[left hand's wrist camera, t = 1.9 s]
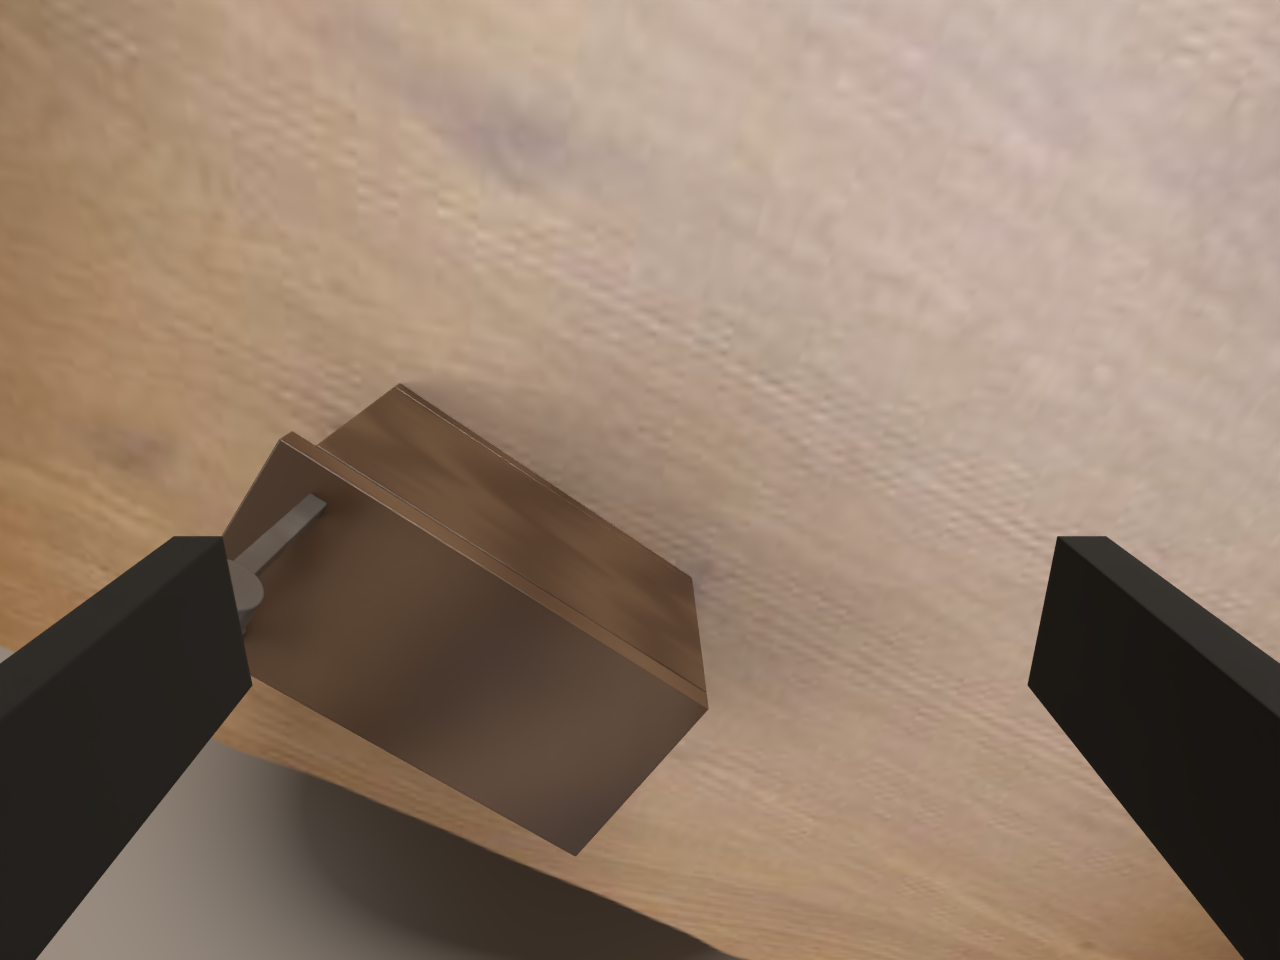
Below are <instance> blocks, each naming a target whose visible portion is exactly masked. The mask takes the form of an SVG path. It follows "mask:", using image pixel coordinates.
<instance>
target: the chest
mask: <svg viewBox="0 0 1280 960" xmlns="http://www.w3.org/2000/svg"><path fill="white" fill-rule="evenodd" d="M316 447H318V448H320V449H321V450H323V451H324V452H326V453H327V454H329V455H331V456H332V457H334V458H335V459H337V460H339V461H340V462H342V463H343V464H345V465H346V466H348V467H350V468H351V469H353V470H354V471H356V472H357V473H359V474H361V475H362V476H364V477H365V478H367V479H369V480H370V481H372V482H373V483H375V484H376V485H378V486H380V487H381V488H383V489H384V490H386V491H388V492H389V493H391V494H392V495H394V496H395V497H397V498H399V499H400V500H402V501H403V502H405V503H406V504H408V505H410V506H411V507H413V508H414V509H416V510H418V511H419V512H421V513H422V514H424V515H425V516H427V517H429V518H430V519H432V520H433V521H435V522H436V523H438V524H440V525H441V526H443V527H444V528H446V529H448V530H449V531H451V532H452V533H454V534H455V535H457V536H459V537H460V538H462V539H463V540H465V541H467V542H468V543H470V544H471V545H473V546H474V547H476V548H478V549H479V550H481V551H482V552H484V553H485V554H487V555H489V556H490V557H492V558H493V559H495V560H497V561H498V562H500V563H501V564H503V565H504V566H506V567H508V568H509V569H511V570H512V571H514V572H515V573H517V574H519V575H520V576H522V577H523V578H525V579H527V580H528V581H530V582H531V583H533V584H534V585H536V586H538V587H539V588H541V589H542V590H544V591H546V592H547V593H549V594H550V595H552V596H553V597H555V598H557V599H558V600H560V601H561V602H563V603H564V604H566V605H568V606H569V607H571V608H572V609H574V610H576V611H577V612H579V613H580V614H582V615H583V616H585V617H587V618H588V619H590V620H591V621H593V622H595V623H596V624H598V625H599V626H601V627H602V628H604V629H606V630H607V631H609V632H610V633H612V634H613V635H615V636H617V637H618V638H620V639H621V640H623V641H625V642H626V643H628V644H629V645H631V646H632V647H634V648H636V649H637V650H639V651H640V652H642V653H643V654H645V655H647V656H648V657H650V658H651V659H653V660H655V661H656V662H658V663H659V664H661V665H662V666H664V667H666V668H667V669H669V670H670V671H672V672H674V673H675V674H677V675H678V676H680V677H681V678H683V679H685V680H686V681H688V682H689V683H691V684H692V685H694V686H696V687H697V688H699V689H700V690H702V691H704V692H705V693H706V684H705V676H704V669H703V661H702V653H701V645H700V638H699V630H698V622H697V614H696V607H695V599H694V591H693V585H692V578H691V577H690V576H688V575H687V574H685V573H684V572H682V571H681V570H679V569H678V568H676V567H675V566H673V565H672V564H670V563H669V562H667V561H666V560H664V559H663V558H661V557H660V556H658V555H657V554H655V553H654V552H652V551H651V550H649V549H648V548H646V547H645V546H643V545H642V544H640V543H639V542H637V541H636V540H634V539H633V538H631V537H630V536H628V535H627V534H625V533H624V532H622V531H621V530H619V529H618V528H616V527H615V526H613V525H612V524H610V523H609V522H607V521H606V520H604V519H603V518H601V517H600V516H598V515H597V514H595V513H594V512H592V511H591V510H589V509H588V508H586V507H585V506H583V505H582V504H580V503H579V502H577V501H576V500H574V499H573V498H571V497H570V496H568V495H567V494H565V493H564V492H562V491H561V490H559V489H558V488H556V487H555V486H553V485H552V484H550V483H549V482H547V481H546V480H544V479H543V478H541V477H540V476H538V475H537V474H535V473H534V472H532V471H531V470H529V469H528V468H526V467H525V466H523V465H522V464H520V463H519V462H517V461H516V460H514V459H513V458H511V457H510V456H508V455H507V454H505V453H504V452H502V451H501V450H499V449H498V448H496V447H495V446H493V445H492V444H490V443H489V442H487V441H486V440H484V439H483V438H481V437H480V436H478V435H477V434H475V433H474V432H472V431H471V430H469V429H468V428H466V427H465V426H463V425H462V424H460V423H459V422H457V421H456V420H454V419H453V418H451V417H450V416H448V415H447V414H445V413H444V412H442V411H441V410H439V409H438V408H436V407H435V406H433V405H432V404H430V403H429V402H427V401H426V400H424V399H423V398H421V397H420V396H418V395H417V394H415V393H413V392H412V391H410V390H409V389H407V388H406V387H404V386H403V385H401V384H398V385H396V386H395V387H394V388H392V389H391V390H390V391H388V392H387V393H386V394H384V395H383V396H382V397H380V398H379V399H378V400H376V401H375V402H374V403H372V404H371V405H370V406H368V407H367V408H366V409H364V410H363V411H362V412H360V413H359V414H358V415H356V416H355V417H354V418H352V419H351V420H350V421H348V422H347V423H346V424H344V425H343V426H342V427H340V428H339V429H338V430H336V431H335V432H334V433H332V434H331V435H330V436H328V437H327V438H326V439H324V440H323V441H322V442H320V443H319V444H318V445H317V446H316Z"/></svg>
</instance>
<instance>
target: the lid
mask: <svg viewBox="0 0 1280 960" xmlns="http://www.w3.org/2000/svg"><path fill="white" fill-rule="evenodd" d="M222 536H223V541H224V546H225V551H226V556H227V561H228V566H229V571H230V576H231V581H232V586H233V591H234V596H235V601H236V606H237V611H238V616H239V621H240V626H241V631H242V636H243V641H244V646H245V651H246V656H247V661H248V666H249V671H250V675H251V676H253V677H255V678H257V679H258V680H260V681H262V682H264V683H265V684H267V685H269V686H271V687H273V688H274V689H276V690H278V691H280V692H282V693H283V694H285V695H287V696H289V697H291V698H292V699H294V700H296V701H298V702H300V703H301V704H303V705H305V706H307V707H308V708H310V709H312V710H314V711H316V712H317V713H319V714H321V715H323V716H325V717H326V718H328V719H330V720H332V721H334V722H335V723H337V724H339V725H341V726H343V727H344V728H346V729H348V730H350V731H351V732H353V733H355V734H357V735H359V736H360V737H362V738H364V739H366V740H368V741H369V742H371V743H373V744H375V745H377V746H378V747H380V748H382V749H384V750H385V751H387V752H389V753H391V754H393V755H394V756H396V757H398V758H400V759H402V760H403V761H405V762H407V763H409V764H411V765H412V766H414V767H416V768H418V769H420V770H421V771H423V772H425V773H427V774H428V775H430V776H432V777H434V778H436V779H437V780H439V781H441V782H443V783H445V784H446V785H448V786H450V787H452V788H454V789H455V790H457V791H459V792H461V793H463V794H464V795H466V796H468V797H470V798H471V799H473V800H475V801H477V802H479V803H480V804H482V805H484V806H486V807H488V808H489V809H491V810H493V811H495V812H497V813H498V814H500V815H502V816H504V817H506V818H507V819H509V820H511V821H513V822H514V823H516V824H518V825H520V826H522V827H523V828H525V829H527V830H529V831H531V832H532V833H534V834H536V835H538V836H540V837H541V838H543V839H545V840H547V841H548V842H550V843H552V844H554V845H556V846H557V847H559V848H561V849H563V850H565V851H566V852H568V853H570V854H572V855H574V856H577V854H578V853H579V852H580V851H581V850H582V849H583V848H584V847H585V846H586V844H587V843H588V842H589V841H590V840H591V839H592V838H593V837H594V836H595V834H596V833H597V832H598V831H599V830H600V829H601V828H602V827H603V826H604V824H605V823H606V822H607V821H608V820H609V819H610V818H611V817H612V816H613V814H614V813H615V812H616V811H617V810H618V809H619V808H620V807H621V806H622V804H623V803H624V802H625V801H626V800H627V799H628V798H629V797H630V796H631V794H632V793H633V792H634V791H635V790H636V789H637V788H638V787H639V786H640V784H641V783H642V782H643V781H644V780H645V779H646V778H647V777H648V776H649V774H650V773H651V772H652V771H653V770H654V769H655V768H656V767H657V766H658V764H659V763H660V762H661V761H662V760H663V759H664V758H665V757H666V756H667V755H668V753H669V752H670V751H671V750H672V749H673V748H674V747H675V746H676V745H677V743H678V742H679V741H680V740H681V739H682V738H683V737H684V736H685V735H686V733H687V732H688V731H689V730H690V729H691V728H692V727H693V726H694V725H695V723H696V722H697V721H698V720H699V719H700V718H701V717H702V716H703V715H704V713H705V712H706V711H707V710H708V700H707V694H706V693H705V692H704V691H702V690H700V689H699V688H697V687H696V686H694V685H692V684H691V683H689V682H688V681H686V680H685V679H683V678H681V677H680V676H678V675H677V674H675V673H674V672H672V671H670V670H669V669H667V668H666V667H664V666H662V665H661V664H659V663H658V662H656V661H655V660H653V659H651V658H650V657H648V656H647V655H645V654H643V653H642V652H640V651H639V650H637V649H636V648H634V647H632V646H631V645H629V644H628V643H626V642H625V641H623V640H621V639H620V638H618V637H617V636H615V635H613V634H612V633H610V632H609V631H607V630H606V629H604V628H602V627H601V626H599V625H598V624H596V623H595V622H593V621H591V620H590V619H588V618H587V617H585V616H583V615H582V614H580V613H579V612H577V611H576V610H574V609H572V608H571V607H569V606H568V605H566V604H564V603H563V602H561V601H560V600H558V599H557V598H555V597H553V596H552V595H550V594H549V593H547V592H546V591H544V590H542V589H541V588H539V587H538V586H536V585H534V584H533V583H531V582H530V581H528V580H527V579H525V578H523V577H522V576H520V575H519V574H517V573H515V572H514V571H512V570H511V569H509V568H508V567H506V566H504V565H503V564H501V563H500V562H498V561H497V560H495V559H493V558H492V557H490V556H489V555H487V554H485V553H484V552H482V551H481V550H479V549H478V548H476V547H474V546H473V545H471V544H470V543H468V542H467V541H465V540H463V539H462V538H460V537H459V536H457V535H455V534H454V533H452V532H451V531H449V530H448V529H446V528H444V527H443V526H441V525H440V524H438V523H436V522H435V521H433V520H432V519H430V518H429V517H427V516H425V515H424V514H422V513H421V512H419V511H418V510H416V509H414V508H413V507H411V506H410V505H408V504H406V503H405V502H403V501H402V500H400V499H399V498H397V497H395V496H394V495H392V494H391V493H389V492H388V491H386V490H384V489H383V488H381V487H380V486H378V485H376V484H375V483H373V482H372V481H370V480H369V479H367V478H365V477H364V476H362V475H361V474H359V473H357V472H356V471H354V470H353V469H351V468H350V467H348V466H346V465H345V464H343V463H342V462H340V461H339V460H337V459H335V458H334V457H332V456H331V455H329V454H327V453H326V452H324V451H323V450H321V449H320V448H318V447H316V446H315V445H313V444H312V443H310V442H309V441H307V440H305V439H304V438H302V437H301V436H299V435H297V434H296V433H294V432H290V433H289V434H287V435H286V436H284V437H282V438H281V439H279V441H278V442H277V444H276V446H275V447H274V449H273V451H272V453H271V454H270V456H269V458H268V459H267V461H266V463H265V464H264V466H263V468H262V469H261V471H260V473H259V474H258V476H257V478H256V479H255V481H254V483H253V484H252V486H251V488H250V489H249V491H248V493H247V495H246V496H245V498H244V500H243V501H242V503H241V505H240V506H239V508H238V510H237V511H236V513H235V515H234V516H233V518H232V520H231V521H230V523H229V525H228V526H227V528H226V530H225V532H224V533H223V535H222Z"/></svg>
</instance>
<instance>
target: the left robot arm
mask: <svg viewBox="0 0 1280 960" xmlns="http://www.w3.org/2000/svg"><path fill="white" fill-rule="evenodd" d="M251 686H252V681H251V676H250V671H249V666H248V661H247V656H246V651H245V646H244V641H243V636H242V631H241V626H240V621H239V616H238V611H237V606H236V601H235V596H234V591H233V586H232V581H231V576H230V571H229V566H228V561H227V556H226V551H225V546H224V541H223V536H174V537H172V538H171V539H170V540H168V541H167V542H166V543H164V544H163V545H161V546H160V547H159V548H157V549H156V550H155V551H153V552H152V553H151V554H149V555H148V556H146V557H145V558H144V559H142V560H141V561H140V562H138V563H137V564H136V565H134V566H133V567H131V568H130V569H129V570H127V571H126V572H125V573H123V574H122V575H121V576H119V577H118V578H116V579H115V580H114V581H112V582H111V583H110V584H108V585H107V586H106V587H104V588H103V589H101V590H100V591H99V592H97V593H96V594H95V595H93V596H92V597H90V598H89V599H88V600H86V601H85V602H84V603H82V604H81V605H80V606H78V607H77V608H75V609H74V610H73V611H71V612H70V613H69V614H67V615H66V616H65V617H63V618H62V619H60V620H59V621H58V622H56V623H55V624H54V625H52V626H51V627H50V628H48V629H47V630H45V631H44V632H43V633H41V634H40V635H39V636H37V637H36V638H35V639H33V640H32V641H30V642H29V643H28V644H26V645H25V646H24V647H22V648H21V649H20V650H18V651H17V652H15V653H14V654H13V655H11V656H10V657H9V658H7V659H6V660H5V661H3V662H2V663H0V960H36V959H37V957H38V956H39V955H40V953H41V952H42V951H43V950H44V948H45V947H46V946H47V945H48V943H49V942H50V941H51V940H52V938H53V937H54V936H55V934H56V933H57V932H58V931H59V929H60V928H61V927H62V926H63V924H64V923H65V922H66V921H67V919H68V918H69V917H70V916H71V914H72V913H73V912H74V910H75V909H76V908H77V907H78V905H79V904H80V903H81V902H82V900H83V899H84V898H85V896H86V895H87V894H88V893H89V891H90V890H91V889H92V888H93V886H94V885H95V884H96V883H97V881H98V880H99V879H100V878H101V876H102V875H103V874H104V873H105V871H106V870H107V869H108V867H109V866H110V865H111V864H112V862H113V861H114V860H115V859H116V857H117V856H118V855H119V853H120V852H121V851H122V850H123V848H124V847H125V846H126V845H127V843H128V842H129V841H130V840H131V838H132V837H133V836H134V835H135V833H136V832H137V831H138V829H139V828H140V827H141V826H142V824H143V823H144V822H145V821H146V819H147V818H148V817H149V816H150V814H151V813H152V812H153V811H154V809H155V808H156V807H157V805H158V804H159V803H160V802H161V800H162V799H163V798H164V797H165V795H166V794H167V793H168V791H169V790H170V789H171V788H172V786H173V785H174V784H175V783H176V781H177V780H178V779H179V778H180V776H181V775H182V774H183V772H184V771H185V770H186V769H187V767H188V766H189V765H190V764H191V762H192V761H193V760H194V759H195V757H196V756H197V755H198V754H199V752H200V751H201V750H202V748H203V747H204V746H205V745H206V743H207V742H208V741H209V740H210V738H211V737H212V736H213V735H214V733H215V732H216V731H217V730H218V728H219V727H220V726H221V724H222V723H223V722H224V721H225V719H226V718H227V717H228V716H229V714H230V713H231V712H232V711H233V709H234V708H235V707H236V705H237V704H238V703H239V702H240V700H241V699H242V698H243V697H244V695H245V694H246V693H247V692H248V690H249V689H250V688H251ZM1028 686H1029V688H1030V689H1031V690H1032V692H1033V693H1034V694H1035V695H1036V697H1037V698H1038V699H1039V700H1040V702H1041V703H1042V704H1043V705H1044V707H1045V708H1046V709H1047V711H1048V712H1049V713H1050V714H1051V716H1052V717H1053V718H1054V719H1055V721H1056V722H1057V723H1058V724H1059V726H1060V727H1061V728H1062V730H1063V731H1064V732H1065V733H1066V735H1067V736H1068V737H1069V738H1070V740H1071V741H1072V742H1073V743H1074V745H1075V746H1076V747H1077V748H1078V750H1079V751H1080V752H1081V754H1082V755H1083V756H1084V757H1085V759H1086V760H1087V761H1088V762H1089V764H1090V765H1091V766H1092V767H1093V769H1094V770H1095V771H1096V773H1097V774H1098V775H1099V776H1100V778H1101V779H1102V780H1103V781H1104V783H1105V784H1106V785H1107V786H1108V788H1109V789H1110V790H1111V792H1112V793H1113V794H1114V795H1115V797H1116V798H1117V799H1118V800H1119V802H1120V803H1121V804H1122V805H1123V807H1124V808H1125V809H1126V811H1127V812H1128V813H1129V814H1130V816H1131V817H1132V818H1133V819H1134V821H1135V822H1136V823H1137V824H1138V826H1139V827H1140V828H1141V829H1142V831H1143V832H1144V833H1145V835H1146V836H1147V837H1148V838H1149V840H1150V841H1151V842H1152V843H1153V845H1154V846H1155V847H1156V848H1157V850H1158V851H1159V852H1160V854H1161V855H1162V856H1163V857H1164V859H1165V860H1166V861H1167V862H1168V864H1169V865H1170V866H1171V867H1172V869H1173V870H1174V871H1175V873H1176V874H1177V875H1178V876H1179V878H1180V879H1181V880H1182V881H1183V883H1184V884H1185V885H1186V886H1187V888H1188V889H1189V890H1190V891H1191V893H1192V894H1193V895H1194V897H1195V898H1196V899H1197V900H1198V902H1199V903H1200V904H1201V905H1202V907H1203V908H1204V909H1205V910H1206V912H1207V913H1208V914H1209V916H1210V917H1211V918H1212V919H1213V921H1214V922H1215V923H1216V924H1217V926H1218V927H1219V928H1220V929H1221V931H1222V932H1223V933H1224V935H1225V936H1226V937H1227V938H1228V940H1229V941H1230V942H1231V943H1232V945H1233V946H1234V947H1235V948H1236V950H1237V951H1238V952H1239V953H1240V955H1241V956H1242V957H1243V959H1244V960H1280V663H1278V662H1277V661H1275V660H1274V659H1273V658H1271V657H1270V656H1269V655H1267V654H1266V653H1265V652H1263V651H1262V650H1260V649H1259V648H1258V647H1256V646H1255V645H1254V644H1252V643H1251V642H1250V641H1248V640H1247V639H1245V638H1244V637H1243V636H1241V635H1240V634H1239V633H1237V632H1236V631H1235V630H1233V629H1232V628H1230V627H1229V626H1228V625H1226V624H1225V623H1224V622H1222V621H1221V620H1220V619H1218V618H1217V617H1215V616H1214V615H1213V614H1211V613H1210V612H1209V611H1207V610H1206V609H1205V608H1203V607H1202V606H1200V605H1199V604H1198V603H1196V602H1195V601H1194V600H1192V599H1191V598H1190V597H1188V596H1187V595H1185V594H1184V593H1183V592H1181V591H1180V590H1179V589H1177V588H1176V587H1174V586H1173V585H1172V584H1170V583H1169V582H1168V581H1166V580H1165V579H1164V578H1162V577H1161V576H1159V575H1158V574H1157V573H1155V572H1154V571H1153V570H1151V569H1150V568H1149V567H1147V566H1146V565H1144V564H1143V563H1142V562H1140V561H1139V560H1138V559H1136V558H1135V557H1134V556H1132V555H1131V554H1129V553H1128V552H1127V551H1125V550H1124V549H1123V548H1121V547H1120V546H1119V545H1117V544H1116V543H1114V542H1113V541H1112V540H1110V539H1109V538H1108V537H1106V536H1057V541H1056V546H1055V551H1054V556H1053V561H1052V566H1051V571H1050V576H1049V581H1048V586H1047V591H1046V596H1045V601H1044V606H1043V611H1042V616H1041V621H1040V626H1039V631H1038V636H1037V641H1036V646H1035V651H1034V656H1033V661H1032V666H1031V671H1030V676H1029V681H1028Z"/></svg>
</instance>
